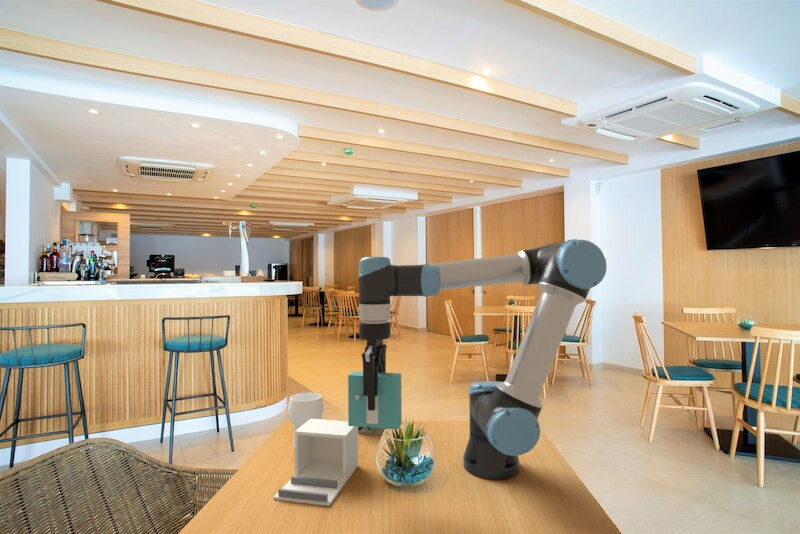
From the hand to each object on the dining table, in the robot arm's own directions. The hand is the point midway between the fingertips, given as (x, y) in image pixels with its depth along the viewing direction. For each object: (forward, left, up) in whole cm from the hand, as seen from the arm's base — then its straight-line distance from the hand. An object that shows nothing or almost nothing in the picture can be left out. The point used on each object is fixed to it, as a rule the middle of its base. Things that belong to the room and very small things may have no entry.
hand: (375, 419), depth 102 cm
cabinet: (+16, -4, -18) cm, 25 cm away
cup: (+29, -25, -19) cm, 43 cm away
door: (0, 0, -1) cm, 1 cm away
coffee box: (+12, -41, -19) cm, 47 cm away
